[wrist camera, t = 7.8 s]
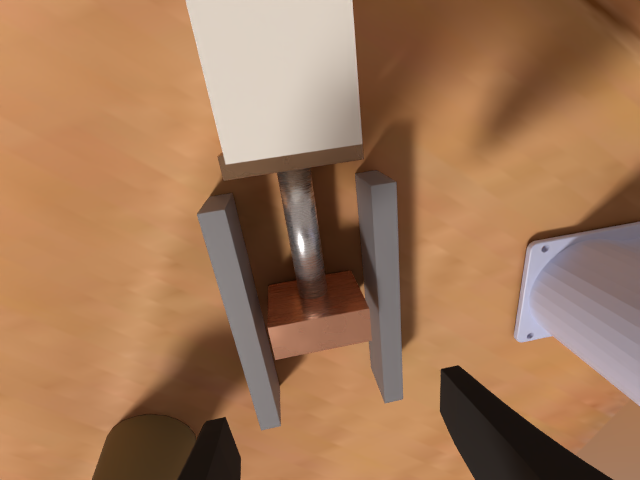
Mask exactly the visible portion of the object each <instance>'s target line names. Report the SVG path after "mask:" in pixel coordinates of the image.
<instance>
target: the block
mask: <svg viewBox="0 0 640 480" xmlns="http://www.w3.org/2000/svg"><path fill="white" fill-rule="evenodd" d="M186 4H187V8H188V12H189V16H190V20H191V25H192V29H193V33H194V37H195V41H196V45H197V49H198V53H199V57H200V61H201V66H202V70H203V74H204V78H205V82H206V86H207V90H208V94H209V98H210V102H211V107H212V111H213V115H214V119H215V123H216V127H217V131H218V135H219V139H220V143H221V148H222V152H223V156H224V160H225V164H226V165H227V164H233V163H240V162H246V161H253V160H260V159H266V158H273V157H280V156H286V155H293V154H300V153H306V152H313V151H319V150H326V149H333V148H339V147H346V146H353V145H359V144H362V130H361V116H360V101H359V87H358V73H357V59H356V44H355V30H354V16H353V2H352V0H186Z"/></svg>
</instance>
